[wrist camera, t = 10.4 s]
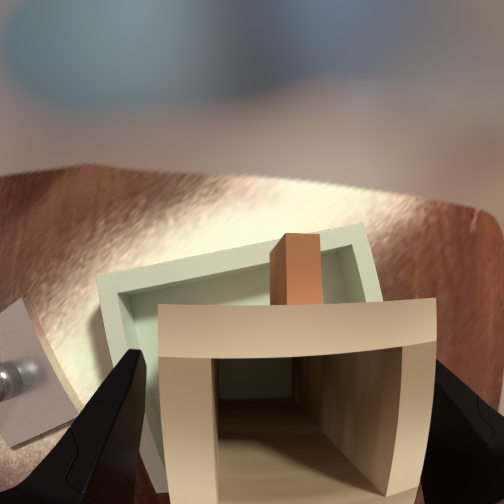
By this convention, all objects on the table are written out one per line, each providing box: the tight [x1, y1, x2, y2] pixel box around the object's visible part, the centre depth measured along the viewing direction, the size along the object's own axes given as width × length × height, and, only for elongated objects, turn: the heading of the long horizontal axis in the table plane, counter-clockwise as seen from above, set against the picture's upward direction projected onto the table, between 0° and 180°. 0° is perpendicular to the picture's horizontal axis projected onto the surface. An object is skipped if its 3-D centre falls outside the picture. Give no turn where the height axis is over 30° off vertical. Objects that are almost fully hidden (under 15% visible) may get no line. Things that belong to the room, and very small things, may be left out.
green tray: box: [96, 223, 383, 493], centre depth 15 cm, size 12×14×3 cm
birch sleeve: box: [158, 233, 436, 504], centre depth 11 cm, size 8×6×11 cm
